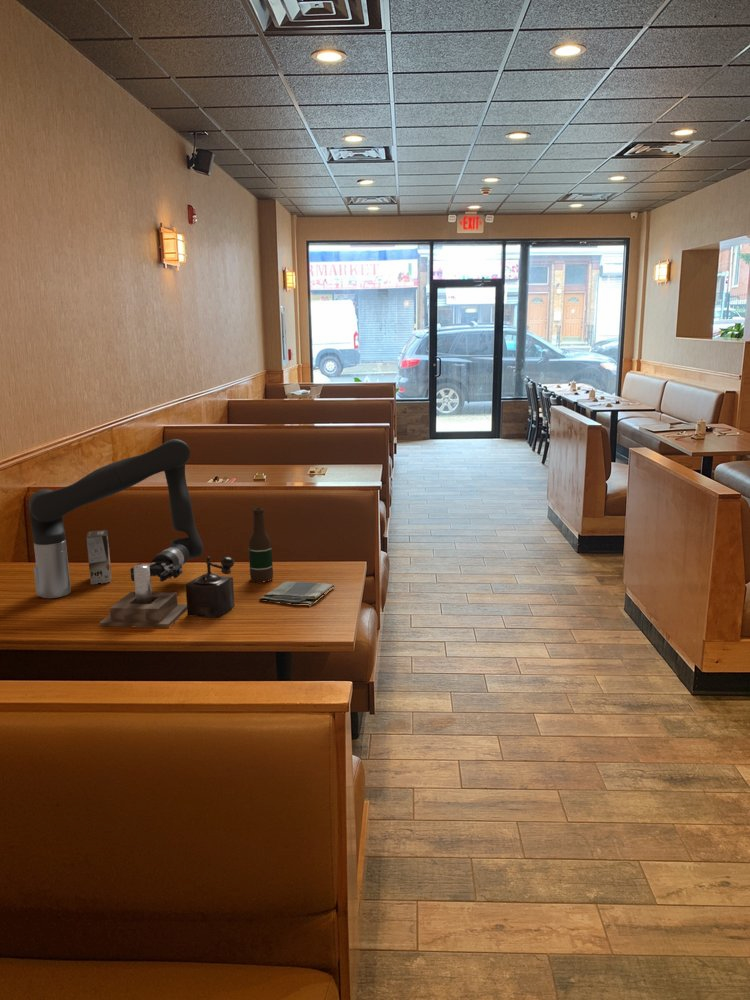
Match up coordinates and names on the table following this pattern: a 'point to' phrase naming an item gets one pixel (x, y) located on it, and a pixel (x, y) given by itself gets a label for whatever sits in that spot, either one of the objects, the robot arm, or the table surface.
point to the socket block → (145, 611)
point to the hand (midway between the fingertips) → (147, 578)
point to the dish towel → (297, 592)
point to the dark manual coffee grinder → (211, 591)
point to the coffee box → (98, 556)
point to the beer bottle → (260, 550)
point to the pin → (142, 584)
